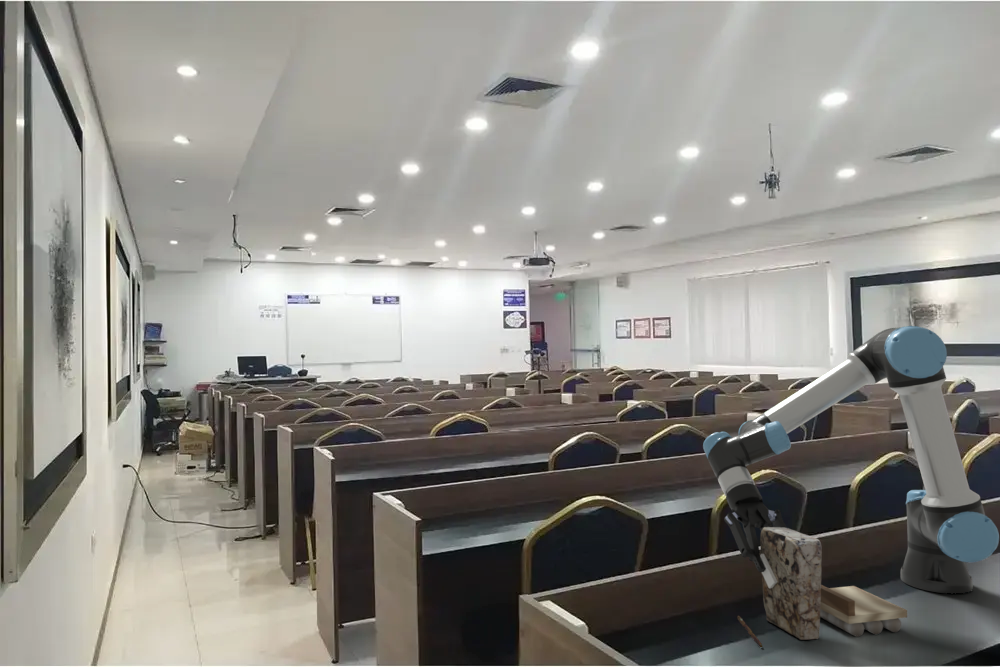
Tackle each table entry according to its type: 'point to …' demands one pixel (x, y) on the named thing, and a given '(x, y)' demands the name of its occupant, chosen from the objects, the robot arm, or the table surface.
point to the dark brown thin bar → (749, 631)
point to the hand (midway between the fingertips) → (785, 583)
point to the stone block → (793, 581)
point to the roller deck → (859, 610)
